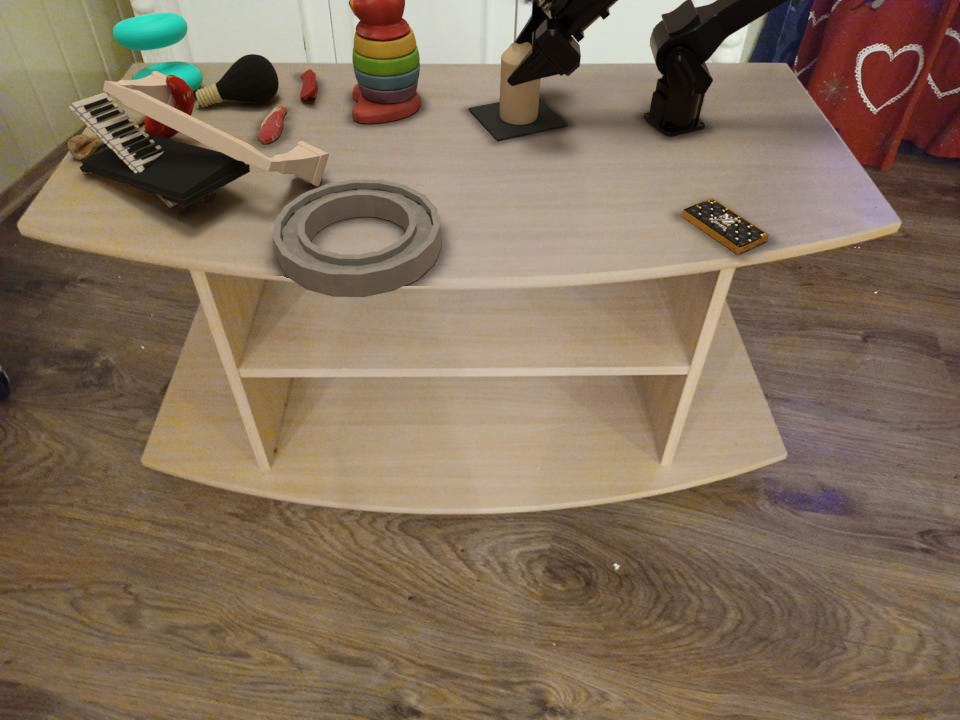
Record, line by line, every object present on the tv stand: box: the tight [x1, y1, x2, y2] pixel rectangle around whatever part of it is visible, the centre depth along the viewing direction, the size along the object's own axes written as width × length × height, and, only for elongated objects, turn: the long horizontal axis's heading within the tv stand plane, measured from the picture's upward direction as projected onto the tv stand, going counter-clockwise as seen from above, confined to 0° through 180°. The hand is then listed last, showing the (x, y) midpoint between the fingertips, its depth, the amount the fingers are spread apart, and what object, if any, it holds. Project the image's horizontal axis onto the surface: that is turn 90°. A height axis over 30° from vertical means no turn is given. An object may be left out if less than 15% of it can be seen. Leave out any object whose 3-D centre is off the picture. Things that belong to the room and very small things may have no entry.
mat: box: [468, 97, 569, 142], centre depth 105 cm, size 11×10×1 cm
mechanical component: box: [272, 178, 442, 298], centre depth 82 cm, size 18×18×3 cm
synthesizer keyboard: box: [68, 91, 251, 210], centre depth 89 cm, size 22×10×10 cm, turn 55°
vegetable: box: [143, 75, 195, 139], centre depth 95 cm, size 4×5×12 cm
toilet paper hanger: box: [102, 71, 330, 187], centre depth 88 cm, size 26×10×4 cm, turn 65°
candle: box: [499, 42, 541, 125], centre depth 101 cm, size 6×6×10 cm
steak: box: [256, 104, 288, 145], centre depth 102 cm, size 10×1×3 cm
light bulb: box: [195, 53, 280, 109], centre depth 105 cm, size 7×7×12 cm
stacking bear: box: [348, 0, 421, 125], centre depth 101 cm, size 11×10×18 cm
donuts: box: [112, 12, 204, 92], centre depth 105 cm, size 10×10×10 cm
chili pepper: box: [299, 69, 318, 101], centre depth 109 cm, size 12×5×2 cm
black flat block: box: [681, 197, 770, 255], centre depth 86 cm, size 9×1×5 cm
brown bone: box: [67, 112, 147, 161], centre depth 100 cm, size 17×3×3 cm
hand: (509, 68), depth 100 cm, fingers open, 9 cm apart
